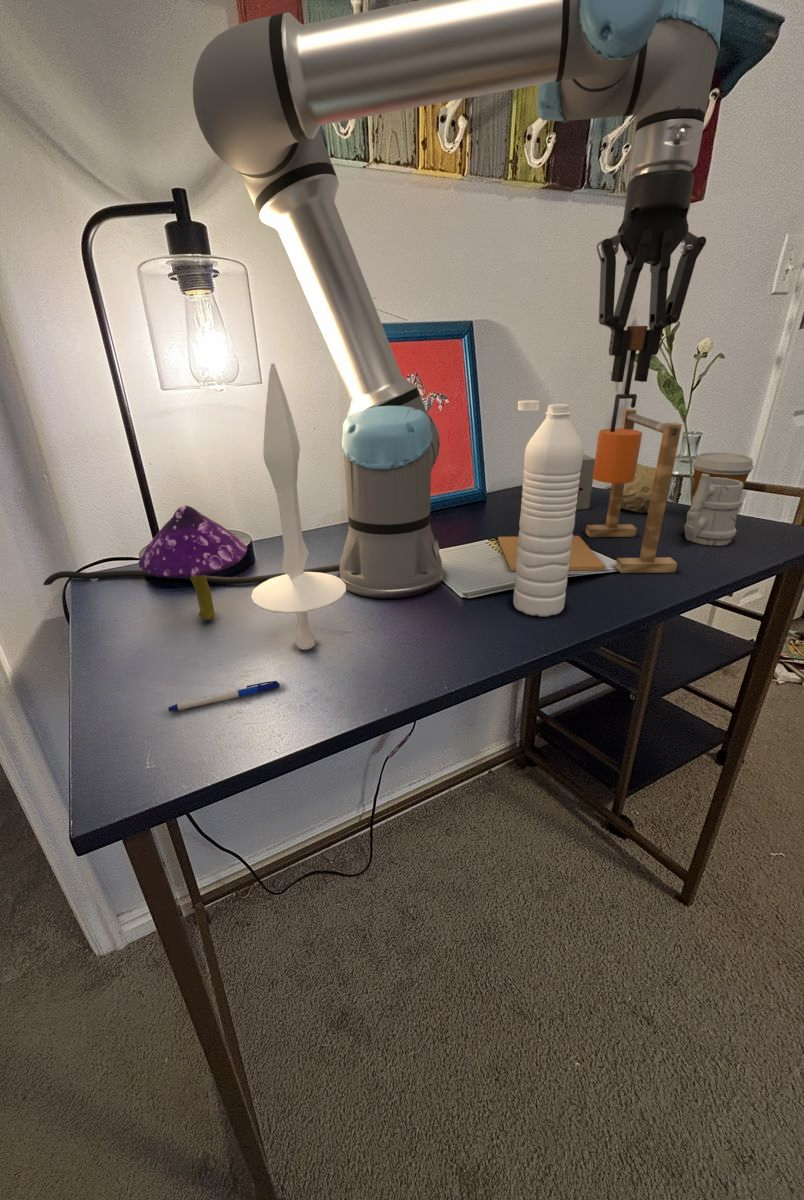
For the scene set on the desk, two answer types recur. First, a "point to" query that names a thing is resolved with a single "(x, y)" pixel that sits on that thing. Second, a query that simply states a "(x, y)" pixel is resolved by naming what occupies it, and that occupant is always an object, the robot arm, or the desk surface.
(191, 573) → the decorative mushroom
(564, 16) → the robot arm
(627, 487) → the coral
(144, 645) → the desk surface
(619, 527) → the rail stand
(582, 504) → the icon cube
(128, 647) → the desk surface
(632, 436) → the orange cylinder on rod
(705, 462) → the disposable coffee cup
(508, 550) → the cork mat
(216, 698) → the ballpoint pen
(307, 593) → the sculpture
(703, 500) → the mug
